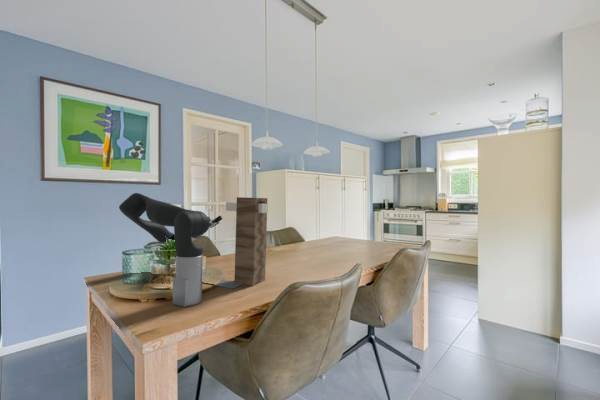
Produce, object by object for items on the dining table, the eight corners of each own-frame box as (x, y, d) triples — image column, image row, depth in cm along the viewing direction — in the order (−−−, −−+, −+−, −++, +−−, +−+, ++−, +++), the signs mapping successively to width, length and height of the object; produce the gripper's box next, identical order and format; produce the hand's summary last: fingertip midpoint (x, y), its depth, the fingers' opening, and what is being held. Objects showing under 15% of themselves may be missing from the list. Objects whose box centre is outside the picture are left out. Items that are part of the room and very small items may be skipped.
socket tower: (253, 285, 122) (255, 198, 122) (234, 282, 126) (236, 197, 126) (265, 280, 131) (267, 198, 131) (247, 277, 135) (249, 197, 135)
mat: (232, 288, 117) (232, 287, 117) (187, 280, 127) (187, 279, 127) (242, 284, 124) (242, 283, 124) (198, 276, 134) (198, 275, 134)
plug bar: (261, 212, 123) (262, 203, 123) (225, 210, 134) (226, 202, 134) (267, 212, 126) (267, 203, 126) (231, 210, 138) (232, 202, 137)
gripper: (179, 226, 137) (202, 211, 131) (200, 224, 150) (222, 210, 144) (185, 240, 135) (208, 225, 129) (205, 236, 148) (227, 223, 143)
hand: (215, 217), depth 137 cm, fingers open, 8 cm apart
